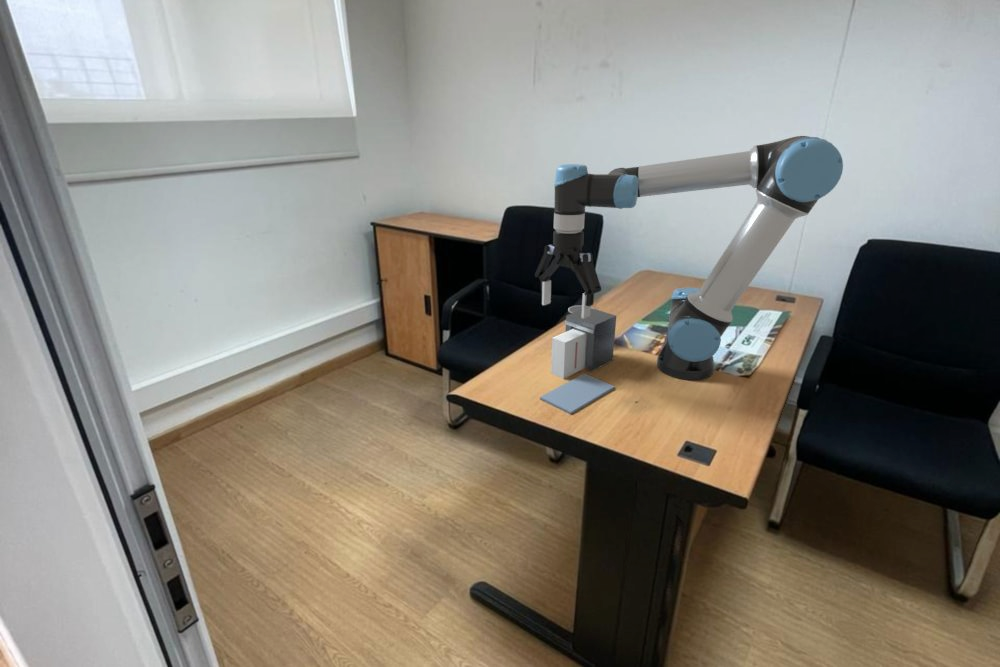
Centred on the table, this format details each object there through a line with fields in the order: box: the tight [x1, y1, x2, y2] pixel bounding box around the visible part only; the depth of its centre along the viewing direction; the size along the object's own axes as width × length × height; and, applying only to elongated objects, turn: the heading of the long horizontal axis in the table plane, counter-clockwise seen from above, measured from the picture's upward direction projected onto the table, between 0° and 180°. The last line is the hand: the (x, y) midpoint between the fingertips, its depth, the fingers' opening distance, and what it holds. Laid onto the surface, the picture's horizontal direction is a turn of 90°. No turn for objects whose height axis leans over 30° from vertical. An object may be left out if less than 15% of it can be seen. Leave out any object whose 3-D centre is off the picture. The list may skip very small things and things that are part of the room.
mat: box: [539, 373, 615, 415], centre depth 130 cm, size 10×18×1 cm, turn 133°
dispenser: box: [564, 307, 617, 372], centre depth 145 cm, size 10×10×14 cm
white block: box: [550, 328, 588, 380], centre depth 142 cm, size 4×16×11 cm, turn 133°
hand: (565, 310), depth 134 cm, fingers open, 13 cm apart
